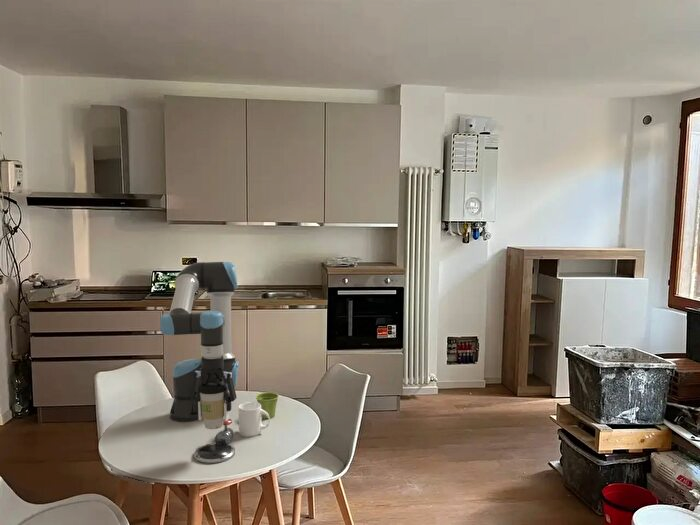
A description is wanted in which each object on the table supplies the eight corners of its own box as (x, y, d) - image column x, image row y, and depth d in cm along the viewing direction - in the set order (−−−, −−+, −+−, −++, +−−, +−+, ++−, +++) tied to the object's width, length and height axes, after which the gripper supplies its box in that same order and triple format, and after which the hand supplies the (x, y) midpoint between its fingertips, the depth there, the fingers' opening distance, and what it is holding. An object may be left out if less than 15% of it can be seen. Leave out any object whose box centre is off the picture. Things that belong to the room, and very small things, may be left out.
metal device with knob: (210, 439, 202) (210, 417, 201) (246, 441, 200) (245, 419, 199) (187, 464, 182) (186, 439, 182) (226, 467, 180) (225, 442, 180)
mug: (267, 437, 202) (267, 410, 201) (236, 436, 203) (235, 409, 202) (272, 428, 211) (271, 402, 210) (242, 427, 212) (241, 401, 211)
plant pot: (264, 410, 230) (264, 391, 229) (283, 414, 226) (282, 394, 225) (251, 418, 221) (251, 398, 221) (270, 422, 217) (270, 401, 217)
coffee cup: (202, 420, 192) (201, 380, 190) (230, 419, 192) (229, 379, 191) (196, 431, 182) (195, 389, 180) (226, 430, 183) (225, 388, 181)
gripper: (178, 357, 183) (180, 421, 185) (238, 360, 180) (239, 425, 182) (187, 352, 190) (189, 413, 192) (245, 354, 187) (246, 416, 189)
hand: (213, 419), depth 187 cm, fingers closed on coffee cup, 9 cm apart
